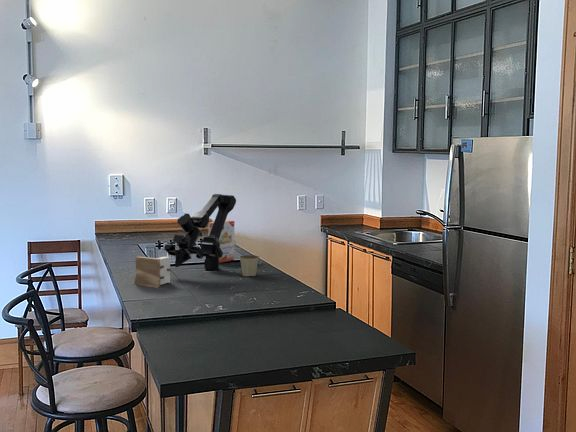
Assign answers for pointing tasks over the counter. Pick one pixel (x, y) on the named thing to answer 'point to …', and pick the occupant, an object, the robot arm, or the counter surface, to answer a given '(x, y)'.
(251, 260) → the flower pot
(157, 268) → the cabinet corner
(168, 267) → the door panel
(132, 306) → the counter surface
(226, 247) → the cracker box
